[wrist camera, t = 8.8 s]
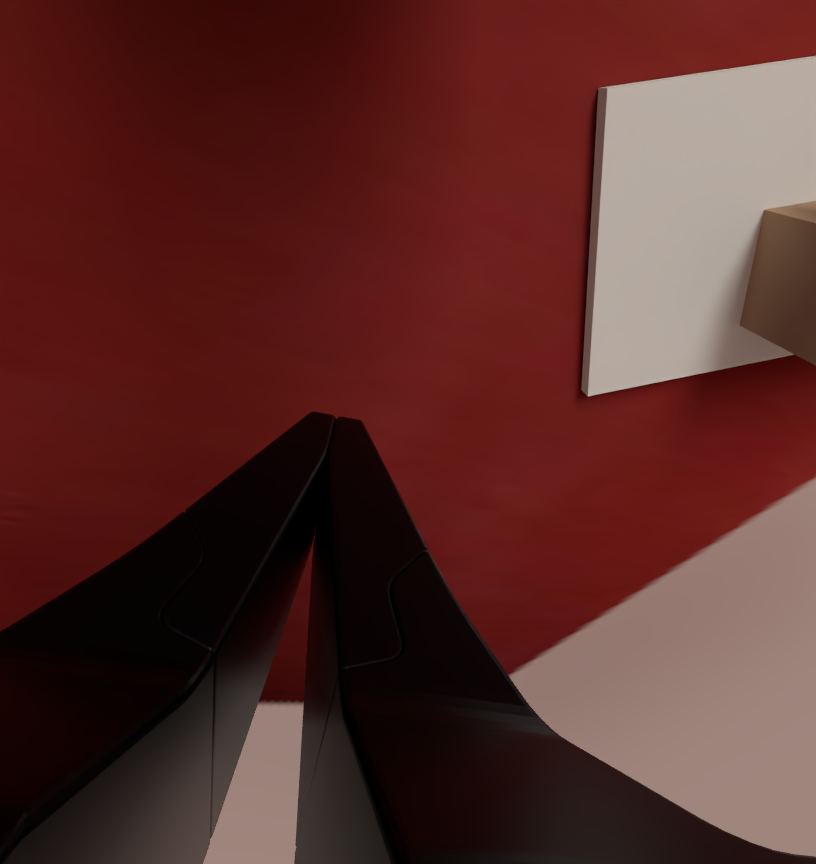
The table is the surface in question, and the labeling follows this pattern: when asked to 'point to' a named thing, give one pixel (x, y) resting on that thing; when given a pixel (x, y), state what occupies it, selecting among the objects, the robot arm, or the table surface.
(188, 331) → the table surface
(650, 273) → the mat
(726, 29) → the table surface
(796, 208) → the walnut block
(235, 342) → the table surface
